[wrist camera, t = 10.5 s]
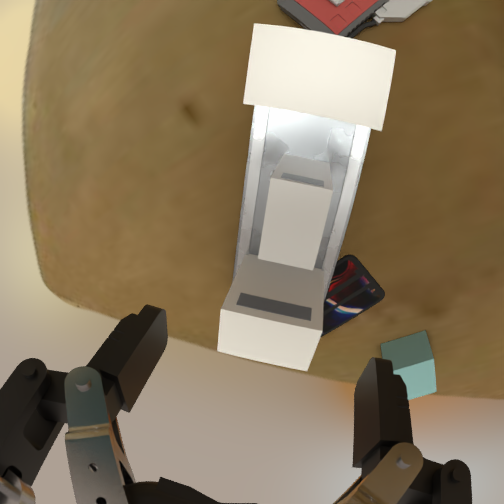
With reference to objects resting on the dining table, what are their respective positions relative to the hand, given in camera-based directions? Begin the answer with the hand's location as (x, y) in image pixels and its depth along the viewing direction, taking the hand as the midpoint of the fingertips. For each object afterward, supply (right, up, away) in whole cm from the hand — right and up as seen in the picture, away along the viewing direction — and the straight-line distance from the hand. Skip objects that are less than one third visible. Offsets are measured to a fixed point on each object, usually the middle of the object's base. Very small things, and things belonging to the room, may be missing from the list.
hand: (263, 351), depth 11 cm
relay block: (+18, -8, +21) cm, 29 cm away
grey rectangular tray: (+4, +10, +17) cm, 20 cm away
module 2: (+2, +1, +21) cm, 22 cm away
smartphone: (+7, -3, +24) cm, 25 cm away
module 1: (+5, +18, +11) cm, 22 cm away
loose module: (+4, +9, +16) cm, 19 cm away
